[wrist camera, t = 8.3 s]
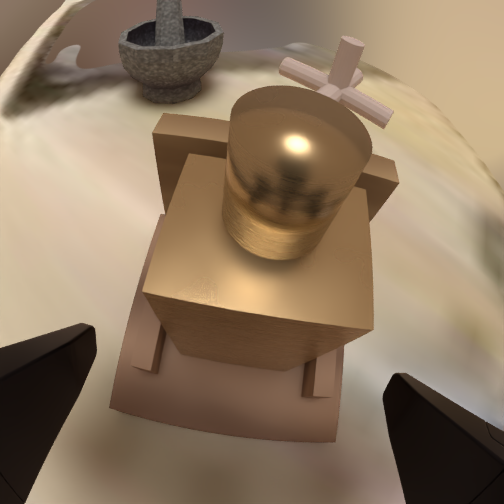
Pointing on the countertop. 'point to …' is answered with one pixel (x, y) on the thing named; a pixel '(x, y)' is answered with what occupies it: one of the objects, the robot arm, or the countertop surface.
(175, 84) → the mortar and pestle
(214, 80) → the countertop surface
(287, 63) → the pipe connector
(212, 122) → the bronze stepped stand
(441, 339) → the countertop surface
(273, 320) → the bronze perfume bottle
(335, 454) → the countertop surface
